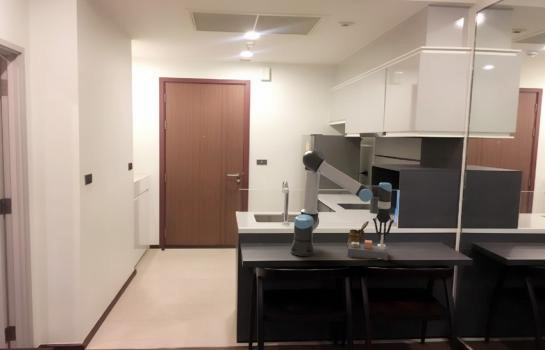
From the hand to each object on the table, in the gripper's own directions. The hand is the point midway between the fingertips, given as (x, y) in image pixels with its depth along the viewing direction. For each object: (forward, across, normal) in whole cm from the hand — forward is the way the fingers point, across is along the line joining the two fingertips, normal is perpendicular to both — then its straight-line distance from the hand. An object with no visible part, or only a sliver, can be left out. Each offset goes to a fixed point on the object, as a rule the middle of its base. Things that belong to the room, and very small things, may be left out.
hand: (381, 244), depth 251 cm
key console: (+8, -8, 0) cm, 11 cm away
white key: (+5, 0, 0) cm, 5 cm away
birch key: (+5, -16, 0) cm, 17 cm away
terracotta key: (+3, -8, 0) cm, 9 cm away
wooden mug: (+8, -15, +15) cm, 23 cm away
